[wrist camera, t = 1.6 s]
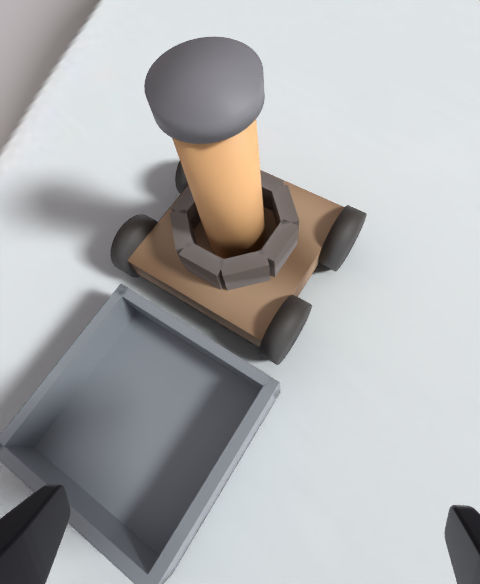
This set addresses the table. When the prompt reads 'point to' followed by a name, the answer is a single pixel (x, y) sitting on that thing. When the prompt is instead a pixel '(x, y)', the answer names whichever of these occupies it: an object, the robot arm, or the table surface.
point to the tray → (139, 432)
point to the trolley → (243, 260)
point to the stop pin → (215, 134)
